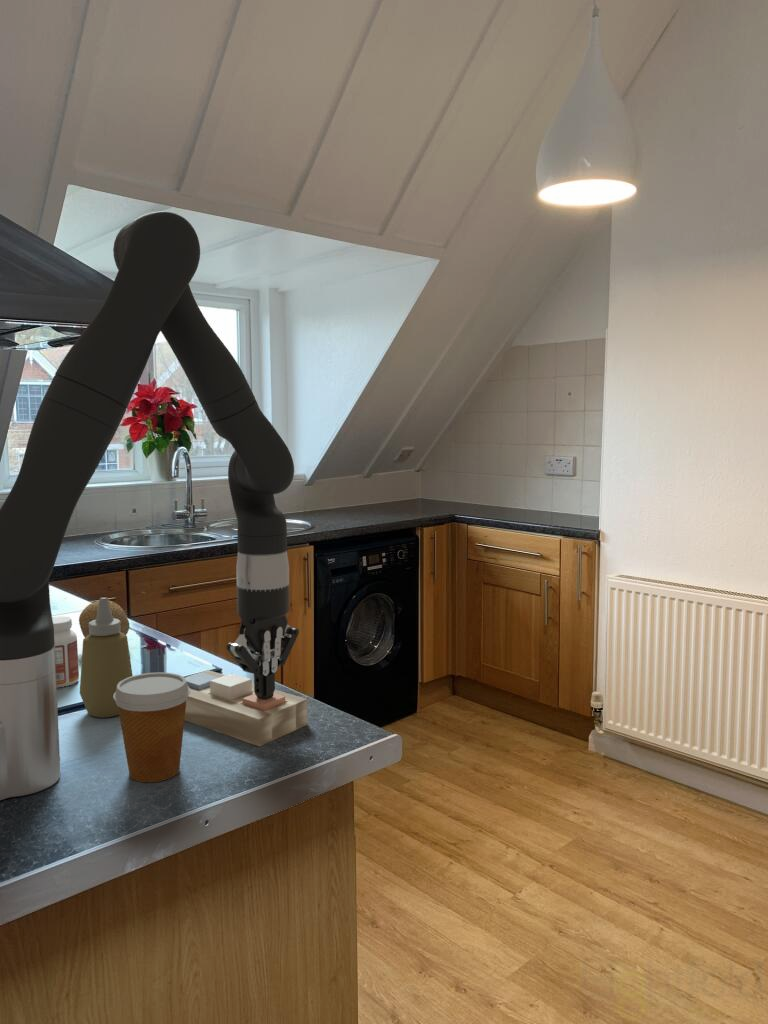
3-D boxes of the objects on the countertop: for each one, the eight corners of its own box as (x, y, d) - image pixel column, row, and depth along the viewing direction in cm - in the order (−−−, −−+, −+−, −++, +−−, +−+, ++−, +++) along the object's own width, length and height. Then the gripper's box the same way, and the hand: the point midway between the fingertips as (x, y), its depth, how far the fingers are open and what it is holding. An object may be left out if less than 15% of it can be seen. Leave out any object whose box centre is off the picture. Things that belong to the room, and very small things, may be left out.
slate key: (199, 706, 127) (198, 685, 127) (180, 700, 130) (180, 679, 129) (220, 698, 131) (220, 677, 130) (202, 692, 133) (201, 672, 133)
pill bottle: (68, 674, 146) (66, 613, 144) (85, 682, 142) (83, 619, 140) (33, 683, 141) (30, 619, 140) (50, 691, 137) (47, 626, 136)
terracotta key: (264, 727, 119) (264, 704, 118) (242, 720, 121) (242, 698, 121) (285, 718, 122) (285, 696, 122) (264, 711, 125) (264, 690, 125)
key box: (259, 746, 116) (258, 719, 115) (158, 711, 129) (158, 686, 128) (307, 724, 124) (307, 699, 123) (208, 693, 137) (207, 670, 136)
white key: (230, 708, 123) (230, 686, 122) (210, 702, 125) (210, 680, 125) (252, 700, 126) (251, 679, 126) (232, 694, 129) (231, 673, 129)
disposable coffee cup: (149, 795, 101) (146, 701, 99) (100, 775, 106) (97, 685, 105) (207, 768, 109) (205, 680, 107) (159, 750, 114) (156, 666, 113)
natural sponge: (120, 641, 166) (118, 592, 165) (137, 651, 159) (135, 601, 158) (74, 649, 161) (72, 598, 160) (89, 660, 154) (87, 608, 153)
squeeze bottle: (77, 707, 130) (72, 595, 128) (129, 699, 134) (126, 590, 131) (84, 725, 123) (79, 607, 121) (139, 716, 127) (136, 601, 124)
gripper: (247, 593, 112) (250, 716, 114) (313, 577, 122) (314, 690, 125) (210, 586, 116) (213, 704, 118) (276, 571, 127) (278, 680, 129)
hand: (264, 697), depth 122 cm, fingers closed
